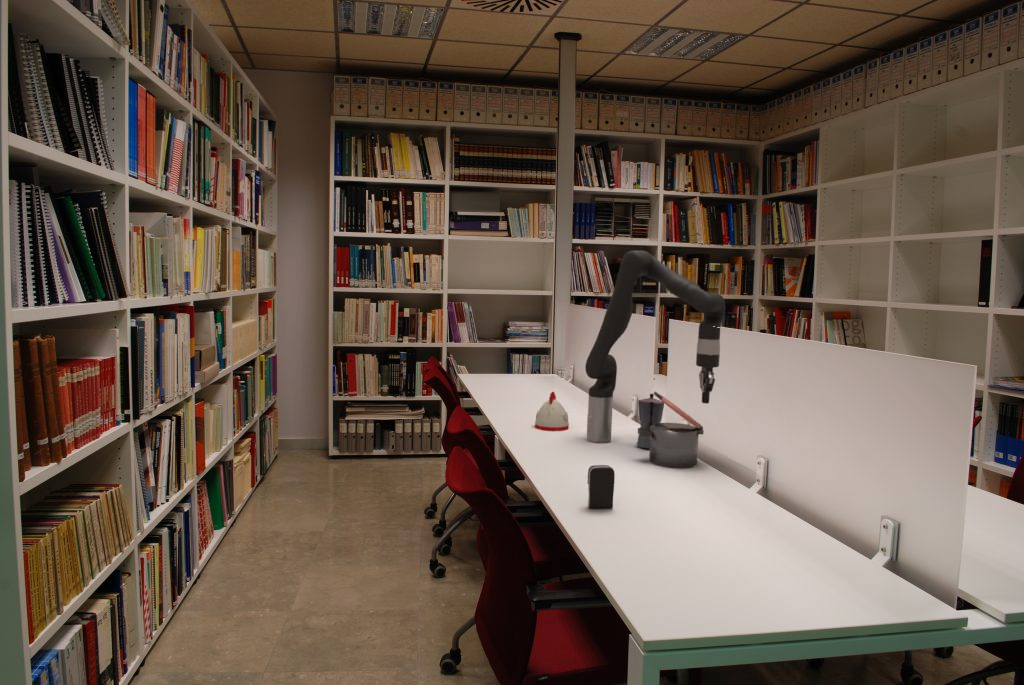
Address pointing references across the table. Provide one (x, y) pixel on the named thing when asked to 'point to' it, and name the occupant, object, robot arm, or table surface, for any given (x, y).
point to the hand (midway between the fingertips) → (705, 403)
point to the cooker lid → (678, 411)
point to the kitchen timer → (552, 416)
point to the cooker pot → (672, 444)
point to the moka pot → (649, 417)
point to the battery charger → (600, 486)
